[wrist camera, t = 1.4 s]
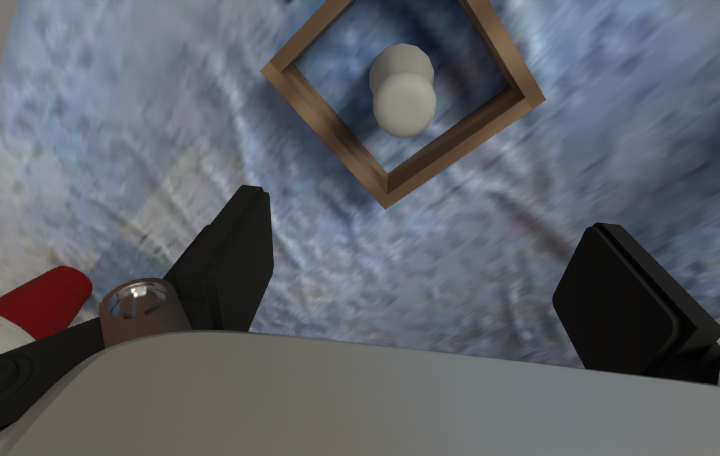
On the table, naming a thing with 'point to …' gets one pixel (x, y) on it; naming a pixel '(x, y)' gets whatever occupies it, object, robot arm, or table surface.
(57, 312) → the plastic cup
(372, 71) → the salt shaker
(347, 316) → the table surface
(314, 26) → the frame
